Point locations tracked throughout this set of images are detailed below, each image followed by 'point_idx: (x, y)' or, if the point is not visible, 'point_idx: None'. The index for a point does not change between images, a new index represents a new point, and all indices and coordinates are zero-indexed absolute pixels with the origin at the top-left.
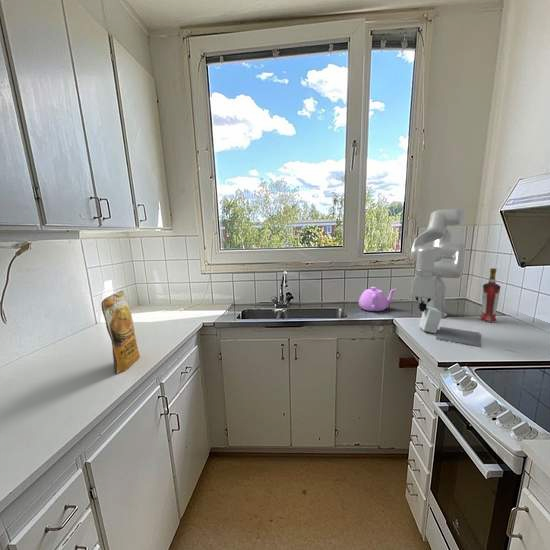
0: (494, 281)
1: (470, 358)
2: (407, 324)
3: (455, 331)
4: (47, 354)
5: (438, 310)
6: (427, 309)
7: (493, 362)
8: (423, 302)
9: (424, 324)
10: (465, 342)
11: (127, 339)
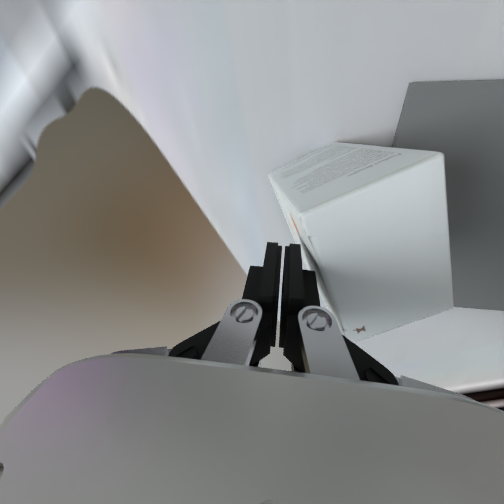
0: None
1: (433, 384)
2: (196, 136)
3: (500, 152)
4: None
5: (445, 236)
6: (325, 290)
7: (497, 389)
8: (284, 352)
9: (302, 257)
10: (477, 300)
11: None
